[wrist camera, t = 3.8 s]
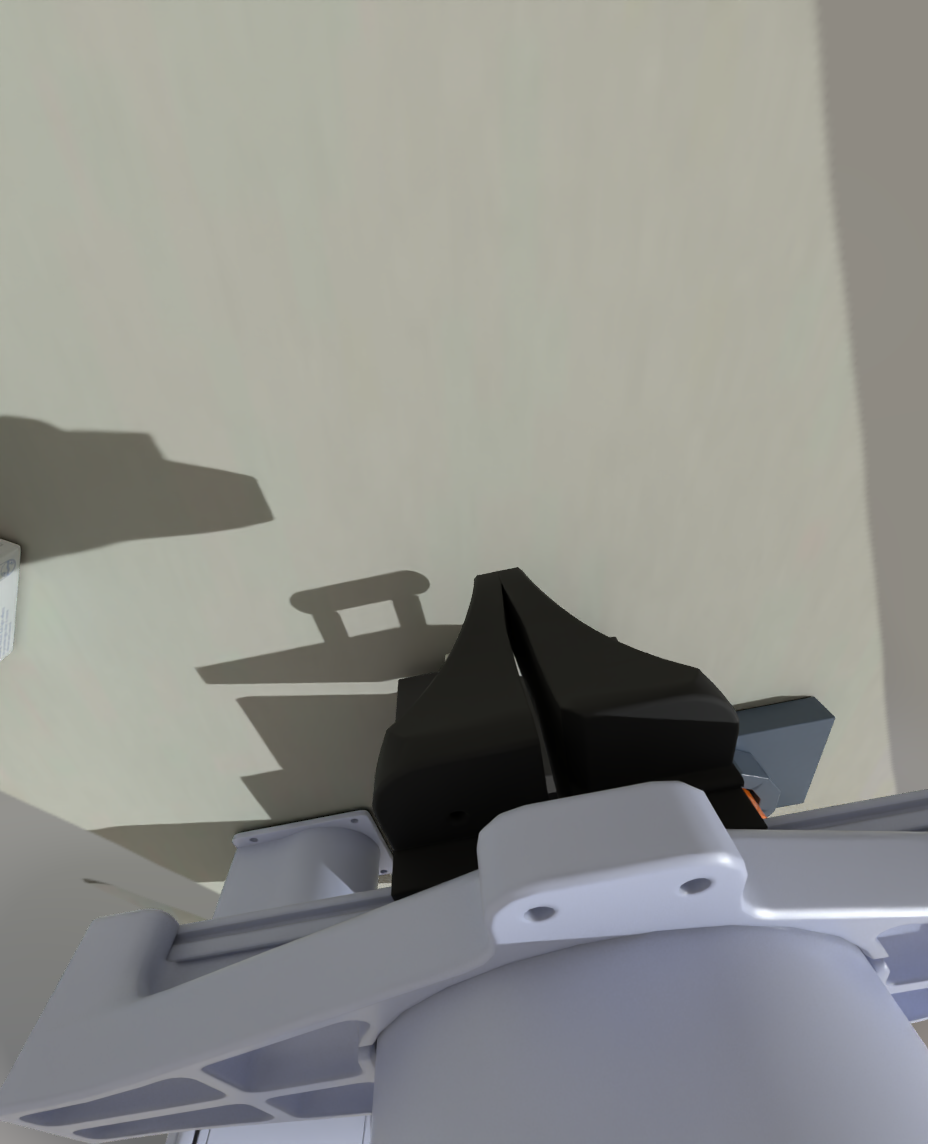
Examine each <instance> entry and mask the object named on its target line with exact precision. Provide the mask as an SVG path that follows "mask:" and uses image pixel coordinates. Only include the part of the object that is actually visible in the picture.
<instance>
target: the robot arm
mask: <svg viewBox="0 0 928 1144" xmlns="http://www.w3.org/2000/svg"><path fill="white" fill-rule="evenodd" d="M514 656H515V659H516V662H517V664H518V667H519V670H520V673H521V675H522V678H523V681H524V683H525V686H526V689H527V692H528V694H529V697H530V700H531V703H532V705H533V708H534V711H535V713H536V716H537V720H538V723H539V726H540V729H541V733H542V737H543V741H544V745H545V749H546V753H547V756H548V760H549V764H550V768H551V772H552V776H553V780H554V784H555V788H556V792H557V796H558V799H555V800H550V801H549V797H548V791H547V785H546V778H545V772H544V765H543V759H542V752H541V746H540V741H539V737H538V733H537V729H536V725H535V722H534V718H533V715H532V712H531V709H530V706H529V703H528V700H527V697H526V694H525V691H524V688H523V685H522V682H521V679H520V676H519V672H518V669H517V666H516V663H515V659H514ZM738 734H739V717H738V715H737V713H736V711H735V709H734V708H733V706H732V705H731V704H730V703H729V701H728V700H727V699H726V697H725V696H724V695H723V694H722V693H721V691H720V690H719V689H718V688H717V687H716V686H715V685H714V684H713V683H712V682H711V681H710V680H709V679H708V678H707V677H706V676H705V675H704V674H703V673H702V672H701V671H700V669H698V668H694V667H691V666H687V665H683V664H680V663H676V662H673V661H669V660H666V659H662V658H659V657H656V656H653V655H651V654H648V653H645V652H642V651H640V650H637V649H634V648H632V647H630V646H627V645H625V644H622V643H620V642H618V641H616V640H614V639H612V638H610V637H608V636H605V635H603V634H602V633H600V632H598V631H596V630H594V629H592V628H591V627H589V626H587V625H586V624H584V623H583V622H581V621H579V620H578V619H577V618H575V617H574V616H572V615H571V614H569V613H568V612H567V611H565V610H564V609H563V608H561V607H560V606H559V605H558V604H556V603H555V602H554V601H553V600H552V599H550V598H549V597H548V596H547V595H546V594H545V593H543V592H542V591H541V590H540V589H539V588H538V587H537V586H536V585H535V584H534V583H533V582H532V581H531V580H530V579H529V578H528V577H527V576H526V575H525V573H524V572H523V571H522V570H521V569H519V568H518V567H517V568H512V569H507V570H502V571H497V572H492V573H487V574H482V575H477V576H476V578H475V579H474V589H473V594H472V598H471V602H470V606H469V609H468V612H467V615H466V618H465V621H464V623H463V626H462V628H461V631H460V633H459V636H458V638H457V640H456V642H455V644H454V646H453V648H452V650H451V652H450V654H449V655H448V657H447V659H446V661H445V662H444V664H443V665H442V667H441V669H440V670H439V672H438V673H437V675H436V676H435V678H434V679H433V681H432V682H431V683H430V685H429V686H428V687H427V688H426V690H425V691H424V692H423V693H422V694H421V696H420V697H419V698H418V699H417V701H416V702H415V703H414V704H413V705H412V706H411V708H409V709H408V710H407V711H406V712H405V713H404V714H403V715H402V716H401V717H400V718H399V719H398V720H397V721H396V722H395V723H394V724H393V725H392V726H391V727H390V728H389V729H388V730H387V731H386V734H385V737H384V740H383V743H382V747H381V751H380V755H379V759H378V763H377V767H376V773H375V782H374V792H373V803H372V807H373V810H374V813H375V817H376V818H377V820H378V822H379V824H380V826H381V828H382V830H383V832H384V833H385V835H386V837H387V839H388V841H389V843H390V845H391V846H392V848H393V850H394V851H393V856H392V854H391V852H390V850H389V848H388V846H387V844H386V843H385V841H384V839H383V837H382V835H381V833H380V832H379V830H378V828H377V826H376V824H375V822H374V821H373V819H372V817H371V815H370V813H369V812H368V811H366V810H358V811H353V812H347V813H342V814H337V815H332V816H326V817H321V818H316V819H311V820H305V821H300V822H295V823H289V824H284V825H279V826H274V827H268V828H263V829H258V830H252V831H247V832H242V833H238V834H235V835H234V837H233V840H232V843H233V844H234V845H235V846H236V848H237V849H236V852H235V855H234V858H233V861H232V863H231V866H230V869H229V872H228V875H227V878H226V881H225V883H224V886H223V889H222V892H221V895H220V898H219V900H218V903H217V906H216V909H215V912H214V915H213V918H212V919H210V920H204V921H199V922H193V923H188V924H182V925H179V924H178V922H177V921H176V920H175V918H174V917H173V916H172V915H170V914H169V913H167V912H165V911H163V910H160V909H154V908H149V909H140V910H134V911H129V912H124V913H119V914H113V915H107V916H102V917H98V918H96V919H94V920H92V922H91V924H90V925H89V928H88V929H87V931H86V933H85V935H84V936H83V939H82V940H81V942H80V944H79V946H78V947H77V949H76V951H75V953H74V955H73V957H72V959H71V960H70V962H69V964H68V966H67V968H66V969H65V971H64V973H63V975H62V977H61V979H60V981H59V982H58V984H57V986H56V988H55V990H54V991H53V993H52V995H51V997H50V999H49V1001H48V1002H47V1004H46V1006H45V1008H44V1010H43V1012H42V1013H41V1015H40V1017H39V1019H38V1021H37V1023H36V1024H35V1026H34V1028H33V1030H32V1032H31V1034H30V1035H29V1037H28V1039H27V1041H26V1043H25V1044H24V1046H23V1048H22V1050H21V1052H20V1054H19V1055H18V1057H17V1059H16V1061H15V1063H14V1065H13V1066H12V1068H11V1070H10V1072H9V1074H8V1076H7V1077H6V1079H5V1081H4V1083H3V1085H2V1086H1V1088H0V1121H3V1122H7V1123H11V1124H15V1125H19V1126H23V1127H26V1128H30V1129H34V1130H38V1131H42V1132H47V1133H50V1134H54V1135H58V1136H62V1137H66V1138H70V1139H74V1140H78V1141H82V1142H86V1143H90V1144H97V1143H104V1142H110V1141H116V1140H123V1139H130V1138H137V1137H143V1136H151V1135H159V1134H167V1133H168V1137H167V1140H166V1143H165V1144H928V1048H927V1047H926V1045H925V1044H924V1043H923V1041H922V1040H921V1038H920V1037H919V1035H918V1034H917V1032H916V1031H915V1029H914V1028H913V1026H912V1025H911V1023H914V1022H919V1021H923V1020H927V1019H928V789H924V790H919V791H914V792H908V793H902V794H897V795H891V796H886V797H880V798H875V799H869V800H864V801H858V802H853V803H847V804H842V805H836V806H831V807H825V808H820V809H814V810H809V811H803V812H798V813H792V814H787V815H781V816H776V817H770V818H765V819H762V817H761V816H760V814H759V813H758V811H757V810H756V808H755V807H754V805H753V804H752V802H751V801H750V799H749V798H748V796H747V795H746V793H745V792H744V790H743V789H742V787H744V779H743V777H742V775H741V774H740V773H739V771H738V770H737V768H736V767H735V765H734V764H733V758H734V753H735V749H736V744H737V739H738ZM390 873H392V886H391V887H386V888H380V889H377V888H378V876H379V875H385V874H390Z"/></svg>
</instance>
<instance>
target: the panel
mask: <svg viewBox="0 0 928 1144" xmlns="http://www.w3.org/2000/svg"><path fill="white" fill-rule="evenodd" d="M736 713H737V715H738V717H739V734H738V739H737V744H736V749H735V753H734V758H733V764H734V765H735V767H736V768H737V770H738V771H739V773H740V774H741V775H742V777H743V779H744V787H742V788H745V789H747V790H748V791H749V792H750V794H751V795H752V797H753V798H754V799H755V801H756V802H757V804H758V805H759V807H760V808H761V810H762V811H763V813H764V814H765V816H766V817H768V816H769V815H770V814H772V813H773V812H774V811H775V808H778V807H784V806H789V805H795V804H800V803H804V800H805V797H806V795H807V792H808V789H809V787H810V784H811V781H812V779H813V776H814V773H815V771H816V768H817V765H818V763H819V760H820V757H821V755H822V752H823V749H824V747H825V744H826V741H827V739H828V736H829V733H830V731H831V728H832V725H833V723H834V720H835V717H834V716H833V715H832V714H831V713H830V712H829V711H828V710H827V709H826V708H825V707H824V706H823V705H822V704H821V703H820V702H819V701H818V700H817V699H816V698H815V697H809V698H804V699H799V700H794V701H788V702H783V703H778V704H773V705H768V706H762V707H757V708H752V709H747V710H741V711H736Z"/></svg>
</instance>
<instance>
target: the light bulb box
mask: <svg viewBox="0 0 928 1144" xmlns="http://www.w3.org/2000/svg"><path fill="white" fill-rule="evenodd" d="M20 555H21V547H20V546H19V545H17V544H15V543H12V542H9V541H6V540H3V539H0V661H1V660H2V659H4V658H5V657H6V656H7V655H9V654H10V653H11V652H12V651H13V644H14V632H15V618H16V606H17V593H18V580H19V569H20Z"/></svg>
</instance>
